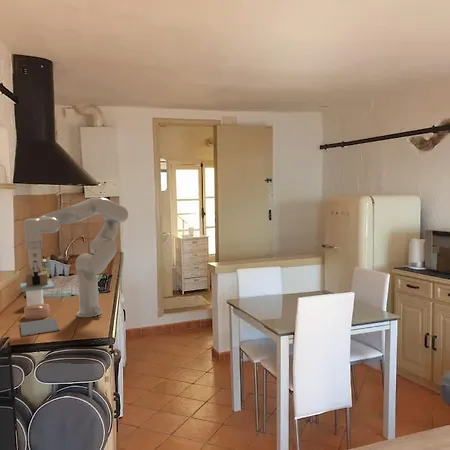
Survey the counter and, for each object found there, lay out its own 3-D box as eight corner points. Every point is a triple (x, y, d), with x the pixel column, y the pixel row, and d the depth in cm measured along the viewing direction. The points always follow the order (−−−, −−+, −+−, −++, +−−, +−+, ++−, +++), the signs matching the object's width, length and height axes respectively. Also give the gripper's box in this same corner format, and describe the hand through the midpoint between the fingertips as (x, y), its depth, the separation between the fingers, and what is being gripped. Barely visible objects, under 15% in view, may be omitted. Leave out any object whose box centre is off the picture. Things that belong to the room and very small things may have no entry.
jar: (23, 306, 251) (22, 285, 249) (34, 302, 258) (33, 281, 257) (36, 307, 247) (34, 286, 246) (47, 303, 255) (45, 283, 254)
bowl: (54, 315, 234) (54, 305, 234) (33, 321, 224) (32, 311, 224) (40, 311, 241) (40, 302, 240) (19, 317, 231) (19, 307, 231)
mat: (59, 330, 209) (59, 329, 209) (21, 336, 202) (21, 335, 202) (54, 319, 227) (54, 317, 227) (19, 324, 220) (19, 323, 220)
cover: (54, 288, 210) (53, 275, 209) (21, 291, 204) (20, 278, 203) (51, 282, 222) (51, 270, 222) (20, 285, 217) (19, 273, 216)
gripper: (43, 246, 205) (45, 286, 207) (41, 242, 220) (43, 279, 222) (25, 248, 202) (28, 288, 204) (24, 243, 217) (26, 280, 219)
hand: (36, 283), depth 213 cm, fingers closed on cover, 4 cm apart
